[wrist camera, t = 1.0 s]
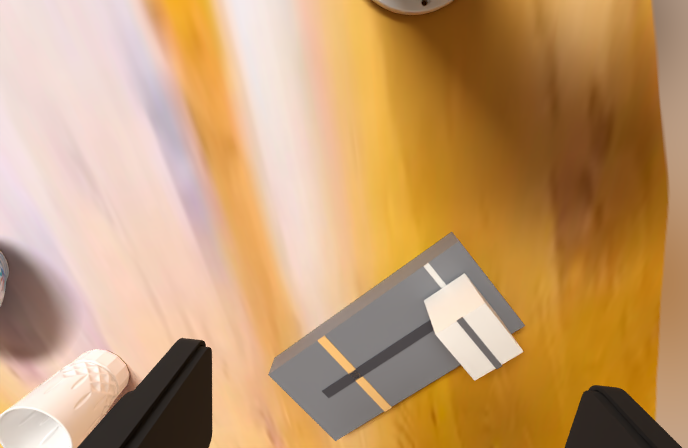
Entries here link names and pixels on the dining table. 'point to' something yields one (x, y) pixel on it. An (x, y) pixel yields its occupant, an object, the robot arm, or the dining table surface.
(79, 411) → the white cup
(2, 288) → the chinaware
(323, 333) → the board
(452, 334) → the fader tab
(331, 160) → the dining table surface
